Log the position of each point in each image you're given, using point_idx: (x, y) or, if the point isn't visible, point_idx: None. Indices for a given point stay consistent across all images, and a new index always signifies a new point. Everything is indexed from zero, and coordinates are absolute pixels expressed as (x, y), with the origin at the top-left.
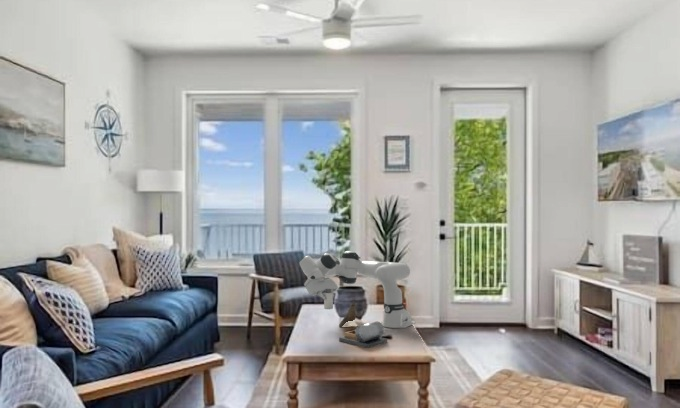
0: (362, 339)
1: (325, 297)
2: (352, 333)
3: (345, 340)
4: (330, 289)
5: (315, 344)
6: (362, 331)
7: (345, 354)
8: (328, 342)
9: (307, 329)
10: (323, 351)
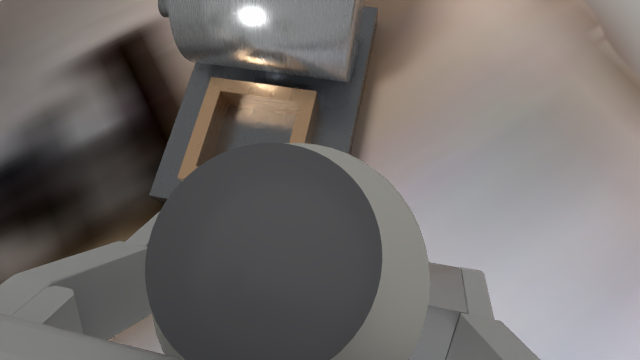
0: (357, 40)
1: (455, 269)
2: None
3: None
4: (278, 145)
5: None
6: (357, 3)
7: (556, 49)
8: None
9: None
10: (598, 180)
